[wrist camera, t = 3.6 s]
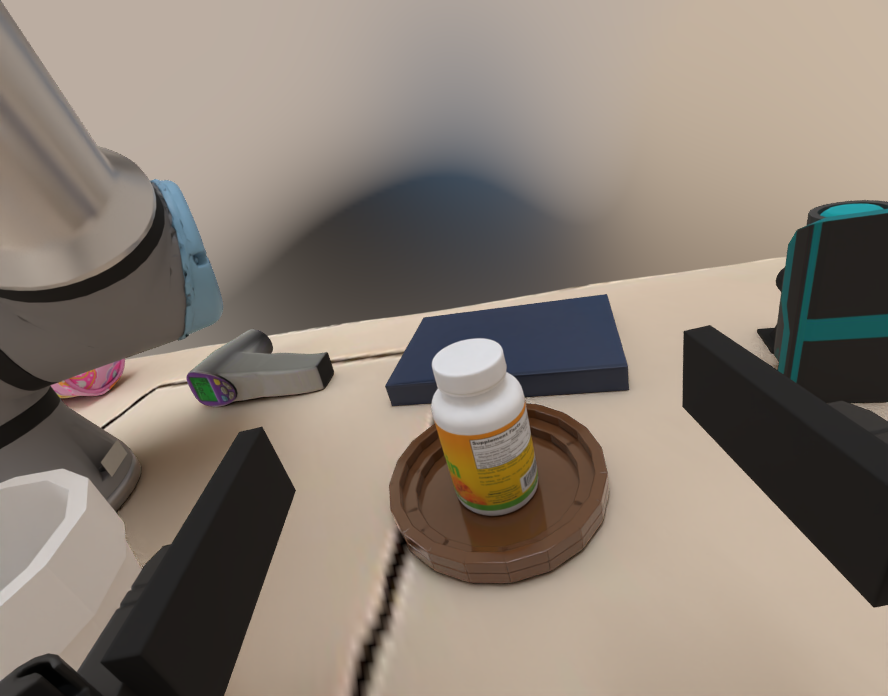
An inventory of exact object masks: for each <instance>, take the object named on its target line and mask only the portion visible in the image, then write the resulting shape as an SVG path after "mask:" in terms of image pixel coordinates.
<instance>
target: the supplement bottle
mask: <svg viewBox="0 0 888 696" xmlns="http://www.w3.org/2000/svg"><path fill="white" fill-rule="evenodd" d="M432 369H433V373H434V377H435V380H436V383H437V387H438V389H437V391H436V392H435V394H434V396H433V399H432V405H431V407H432V414H433V418H434V422H435V425H436V428H437V432H438V435H439V438H440V442H441V445H442V448H443V452H444V455H445V458H446V462H447V465H448V468H449V472H450V475H451V478H452V482H453V485H454V488H455V491H456V494H457V497H458V498H459V500H460V501H461V503H462V504H463V505H464V506H465V507H466V508H468V509H469V510H471V511H473V512H475V513H478V514H482V515H487V516H498V515H504V514H508V513H511V512H513V511H516V510H518V509H519V508H521V507H522V506H524V505H525V504H526V503H527V502H528V501H529V500H530V499H531V498H532V497H533V495H534V493H535V492H536V489H537V485H538V470H537V464H536V459H535V453H534V447H533V442H532V437H531V431H530V426H529V420H528V414H527V408H526V403H525V397H524V393H523V390H522V387H521V385H520V383H519V382H518V380H517V379H516V378H515V377H514V376H512V375H511V374H509V373H507V372H506V369H507V366H506V362H505V358H504V353H503V349H502V347H501V346H500V345H499V344H498V343H497V342H495V341H493V340H489V339H482V338H476V339H467V340H463V341H459V342H456V343H453V344H451V345H449V346H447V347H445V348H443V349H442V350H441V351H439V352H438V353H437V354H436V355H435V357H434V358H433V361H432Z"/></svg>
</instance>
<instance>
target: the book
mask: <svg viewBox="0 0 888 696" xmlns="http://www.w3.org/2000/svg"><path fill="white" fill-rule="evenodd" d="M476 338H482V339H489V340H493V341H495V342H497V343H498V344H499V345H500V346H501V347H502V349H503V353H504V358H505V362H506V366H507V369H506V372H507V373H509V374H511V375H512V376H514V377H515V378H516V379H517V380H518V382H519V383H520V385H521V387H522V390H523V393H524V397H531V396H546V395H561V394H576V393H590V392H605V391H620V390H629V382H628V365H627V362H626V358H625V355H624V351H623V348H622V344H621V341H620V337H619V334H618V331H617V327H616V324H615V320H614V317H613V313H612V310H611V306H610V303H609V299H608V296H607V294H605V295H597V296H589V297H581V298H573V299H566V300H558V301H550V302H542V303H534V304H527V305H519V306H511V307H503V308H495V309H488V310H480V311H472V312H464V313H456V314H448V315H441V316H433V317H425V318H423V320H422V322H421V323H420V325H419V327H418V329H417V331H416V332H415V334H414V336H413V338H412V339H411V341H410V343H409V345H408V346H407V348H406V350H405V352H404V354H403V355H402V357H401V359H400V361H399V362H398V364H397V366H396V368H395V369H394V371H393V373H392V375H391V377H390V378H389V380H388V382H387V384H386V385H385V387H386V389H387V392H388V395H389V398H390V401H391V404H392V406H397V405H412V404H427V403H432V399H433V396H434V394H435V392H436V391H437V389H438V387H437V383H436V380H435V377H434V373H433V369H432V361H433V358H434V357H435V355H436V354H437V353H438V352H439V351H441V350H442V349H443V348H445V347H447V346H449V345H451V344H453V343H456V342H459V341H463V340H467V339H476Z"/></svg>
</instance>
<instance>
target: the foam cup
mask: <svg viewBox="0 0 888 696" xmlns="http://www.w3.org/2000/svg"><path fill="white" fill-rule="evenodd" d="M141 570H142V568H141V566H140V565H139V563H138V561H137V559H136V557H135V555H134V554H133V552H132V550H131V548H130V546H129V544H128V542H127V541H126V539H125V523H124V522H123V520H122V519H121V518H120V517H119V515H118V514H117V513H116V512H115V511H114V509H113V508H112V507H111V506H110V504H109V503H108V502H107V501H106V499H105V498H104V497H103V496H102V494H101V493H100V492H99V491H98V489H97V488H96V487H95V486H94V484H93V483H92V482H91V481H90V480H89V478H87V477H84V476H81V475H79V474H76V473H73V472H71V471H68V470H65V469H57V470H52V471H46V472H41V473H35V474H30V475H24V476H18V477H14V478H12V479H9V480H7V481H4V482H2V483H0V681H1V680H2V679H3V678H5V677H6V676H7V675H8V674H10V673H11V672H12V671H13V670H15V669H16V668H17V667H19V666H21V665H22V664H24V663H26V662H27V661H29V660H31V659H33V658H34V657H38V656H41V655H44V654H48V653H50V654H55V655H58V656H60V657H61V658H62V659H63V660H64V661H65V662H66V663H67V664H68V665H70V666H71V667H72V668H73V669H74V670H75V671H76V672H77V671H78V669H79V667H80V666H81V664H82V663H83V661H84V660H85V658H86V656H87V655H88V653H89V652H90V650H91V649H92V647H93V645H94V644H95V642H96V641H97V639H98V638H99V636H100V634H101V633H102V631H103V630H104V628H105V627H106V625H107V624H108V622H109V620H110V619H111V617H112V616H113V614H114V613H115V611H116V609H118V608H120V603H121V602H122V600H123V598H124V597H125V595H126V594H127V592H128V591H130V590H131V586H132V584H133V583H134V581H135V580H136V578H137V576H138V575H139V573H140V572H141Z"/></svg>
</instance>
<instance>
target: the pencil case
mask: <svg viewBox="0 0 888 696" xmlns="http://www.w3.org/2000/svg"><path fill="white" fill-rule="evenodd" d="M124 366H125V359H122V360H119V361H116V362H113V363H110V364H108V365H105V366H102V367H99V368H96V369H93V370H91V371H88V372H85V373H82V374H80V375H77V376H74V377H72V378H69V379H66V380H63V381H61V382H59V383H56V384H53V385H50V386H51V387H52V388H53V390H54V391H55V392H56V393H57V395H58V396H59V397H60V398H70V397H76V396H98V395H103V394H104V393H106V392H107V391H109V390H110V389H111V388H112V387H113V386H114V385H115V384H116V383H117V381H118V380H119V379H120V377H121V375H122V373H123V370H124Z"/></svg>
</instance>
